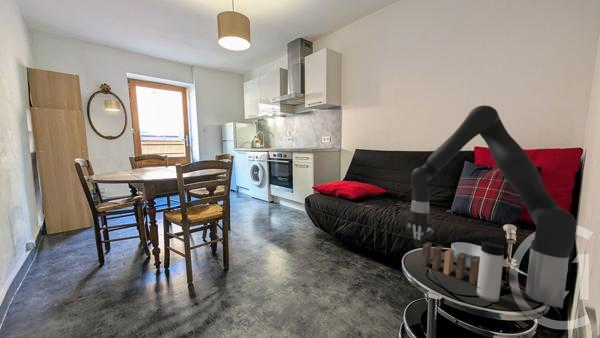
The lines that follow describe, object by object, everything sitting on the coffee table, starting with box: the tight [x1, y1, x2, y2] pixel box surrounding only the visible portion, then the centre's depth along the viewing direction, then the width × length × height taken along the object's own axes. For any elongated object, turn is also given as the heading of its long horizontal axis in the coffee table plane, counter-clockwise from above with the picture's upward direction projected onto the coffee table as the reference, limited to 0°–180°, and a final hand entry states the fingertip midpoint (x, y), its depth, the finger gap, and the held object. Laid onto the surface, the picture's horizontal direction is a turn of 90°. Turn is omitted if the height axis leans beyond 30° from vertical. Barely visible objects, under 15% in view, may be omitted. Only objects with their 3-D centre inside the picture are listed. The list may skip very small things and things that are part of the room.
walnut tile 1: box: [421, 241, 433, 267], centre depth 106 cm, size 2×5×10 cm, turn 130°
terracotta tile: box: [443, 248, 455, 276], centre depth 100 cm, size 2×5×10 cm, turn 130°
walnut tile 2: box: [431, 244, 443, 271], centre depth 103 cm, size 2×5×10 cm, turn 130°
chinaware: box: [450, 241, 481, 269], centre depth 106 cm, size 15×15×8 cm
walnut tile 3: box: [455, 252, 467, 280], centre depth 96 cm, size 2×5×10 cm, turn 130°
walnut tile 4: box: [468, 256, 480, 286], centre depth 93 cm, size 2×5×10 cm, turn 130°
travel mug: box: [476, 241, 505, 303], centre depth 83 cm, size 6×7×20 cm
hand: (417, 246), depth 110 cm, fingers closed
